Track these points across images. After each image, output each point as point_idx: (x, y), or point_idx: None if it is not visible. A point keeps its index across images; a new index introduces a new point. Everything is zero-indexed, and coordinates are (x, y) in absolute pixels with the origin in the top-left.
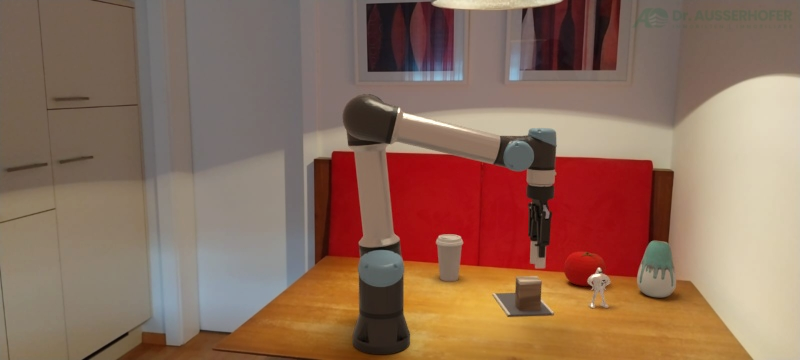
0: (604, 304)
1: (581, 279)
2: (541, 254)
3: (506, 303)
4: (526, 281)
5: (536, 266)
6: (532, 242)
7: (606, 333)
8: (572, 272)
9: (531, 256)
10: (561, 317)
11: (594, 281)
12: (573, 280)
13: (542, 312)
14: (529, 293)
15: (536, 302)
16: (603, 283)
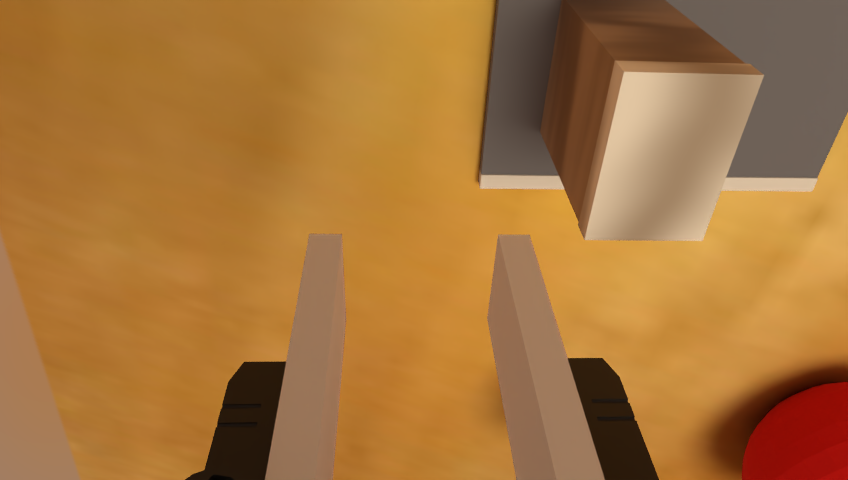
0: None
1: (779, 429)
2: (224, 416)
3: None
4: (610, 127)
5: (308, 255)
6: (553, 478)
7: (235, 315)
8: (837, 429)
9: (512, 299)
10: (440, 205)
11: None
12: (813, 398)
13: (500, 130)
14: (578, 109)
15: (554, 129)
16: None
